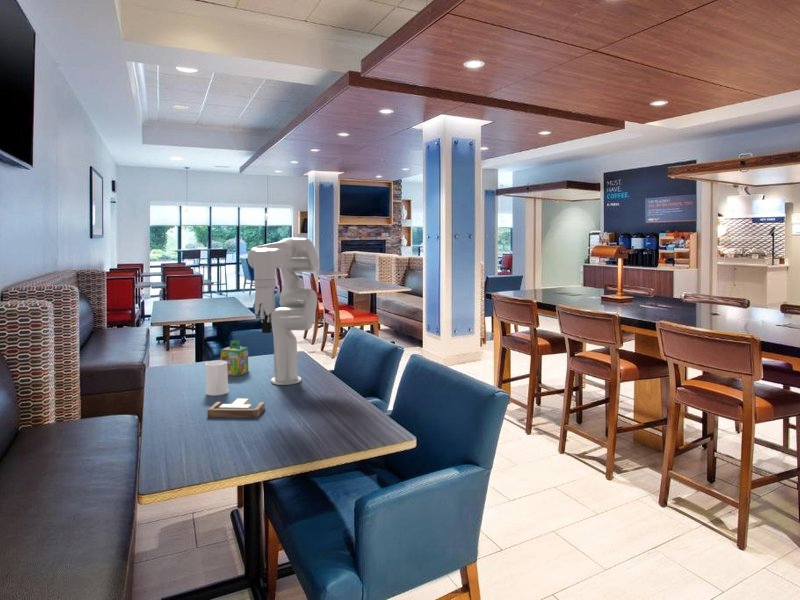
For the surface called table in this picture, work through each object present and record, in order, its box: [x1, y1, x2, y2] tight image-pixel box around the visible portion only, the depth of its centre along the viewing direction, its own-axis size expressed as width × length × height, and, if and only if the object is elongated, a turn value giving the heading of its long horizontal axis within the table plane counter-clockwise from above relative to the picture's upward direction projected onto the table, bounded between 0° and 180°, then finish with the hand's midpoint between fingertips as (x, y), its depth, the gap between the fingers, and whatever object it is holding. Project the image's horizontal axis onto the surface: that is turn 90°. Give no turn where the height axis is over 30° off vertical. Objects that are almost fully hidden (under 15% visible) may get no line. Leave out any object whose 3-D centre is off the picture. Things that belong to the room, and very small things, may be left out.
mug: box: [205, 359, 230, 396], centre depth 204 cm, size 12×8×12 cm
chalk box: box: [220, 340, 249, 377], centre depth 234 cm, size 9×9×15 cm
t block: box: [219, 397, 252, 409], centre depth 184 cm, size 10×10×3 cm
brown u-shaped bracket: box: [206, 401, 265, 419], centre depth 182 cm, size 9×17×2 cm, turn 89°
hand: (267, 332), depth 195 cm, fingers closed
